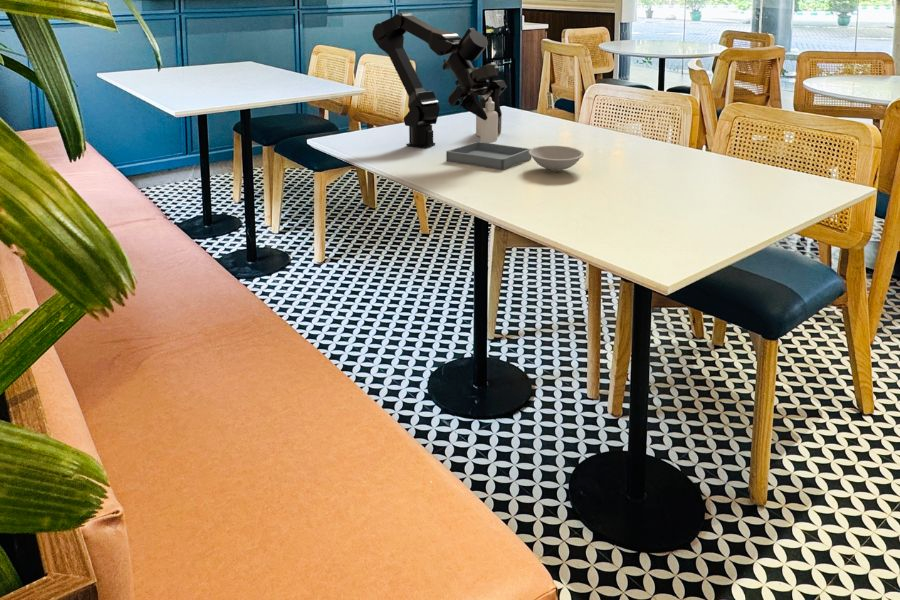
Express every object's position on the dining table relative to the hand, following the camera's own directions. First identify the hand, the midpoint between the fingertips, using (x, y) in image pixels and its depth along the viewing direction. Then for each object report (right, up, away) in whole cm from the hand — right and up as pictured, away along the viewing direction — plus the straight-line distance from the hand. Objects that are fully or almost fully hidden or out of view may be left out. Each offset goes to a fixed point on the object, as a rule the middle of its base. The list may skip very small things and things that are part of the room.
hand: (493, 118), depth 225 cm
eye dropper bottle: (-1, -6, +4) cm, 7 cm away
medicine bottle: (0, +3, +39) cm, 39 cm away
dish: (+16, -16, -6) cm, 23 cm away
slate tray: (-1, -11, +5) cm, 12 cm away
